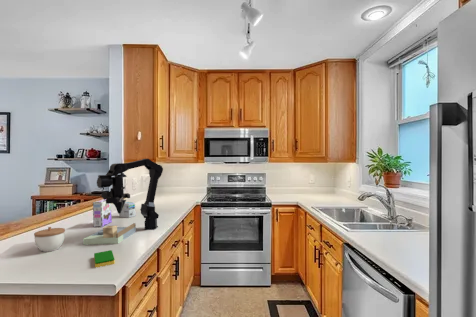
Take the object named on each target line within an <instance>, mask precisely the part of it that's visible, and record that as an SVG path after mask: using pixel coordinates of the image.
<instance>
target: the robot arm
mask: <svg viewBox="0 0 476 317" xmlns="http://www.w3.org/2000/svg"><path fill="white" fill-rule="evenodd" d="M139 167H145V168H146V169H147V170H148V174H149V183H148V188H147V194H146V199H145V201H144V203H141V205H140V209H139V210H140V214H141V215H142V217H143V219H144V230H156V229H157V228H158V227H159V226H158V219H159V217H160V214H158V213H157V211H156V205H155V198H156V192H157V187H158V184H159V183H158V182H159V179H160V178H161V176H162V175H163V172H164V167H163V165H161V164H158V163H157V162H155V161H152V160H151V159H149V158H142V159H138V160H135V161H130V162H123V163H122V162H121V163H118V162H117V163H112V164H111V165H110V166H109V168H108V171H107V172H106V174H104V175H103V174H98V175H97V180H96V186H97V188H98V189H102V188H110V187H111V188H110V191H102V192H101V194H100V195H101V199H104V200H105V199H106V204H108V203H111V204H112V205H114V207H115V208H116V211H117V214H118V215H119V214H120V213H121V211H122V209H123V206H124V204H125V202H127V199H130V198H131V194H130V193H128V192H126V193H125V192H124V191H125V190H124V189H126V187H125V186H124V178H127V174H125V172H127V171H129V170H131V169H136V168H139Z"/></svg>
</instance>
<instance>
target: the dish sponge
mask: <svg viewBox="0 0 476 317" xmlns="http://www.w3.org/2000/svg"><path fill="white" fill-rule="evenodd" d="M93 256H94V267H95V268H96V267H97V268H100V266H102V267H106V265H107V266H110V265H111V266H112V265H115V264H116V263H115V262H116V261H115V256H114V253H113V250H104V251H100V252H99V251H98V252H94V255H93Z"/></svg>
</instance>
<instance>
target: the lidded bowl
mask: <svg viewBox="0 0 476 317" xmlns="http://www.w3.org/2000/svg"><path fill="white" fill-rule="evenodd" d="M65 233H66V230H65V228H64V227H53V228H52V227H51V226H48V227H47V228H46V229H45V228H44V229H41V230H38V231H36V232H34V234H33V236H34V242H35V243H34V244H35V246H36V247H37V248H38V249H39V250H40V251H41V252H42V253H45V252H46V253H47V252H55V251H57V250H59V249H60V247H61V246H62V245H63V243H64V242H65V236H66V234H65Z"/></svg>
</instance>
